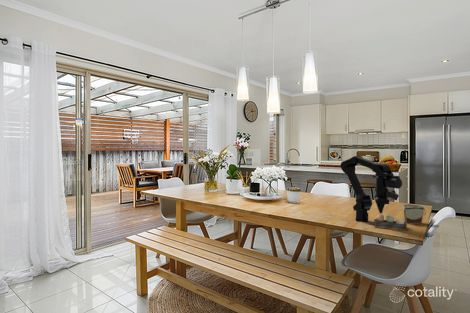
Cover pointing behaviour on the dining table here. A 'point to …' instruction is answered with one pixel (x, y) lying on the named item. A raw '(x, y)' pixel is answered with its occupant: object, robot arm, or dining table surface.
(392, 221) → the button sage
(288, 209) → the dining table surface
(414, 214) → the food container
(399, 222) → the button cream
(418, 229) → the dining table surface
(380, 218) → the button terracotta
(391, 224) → the button panel
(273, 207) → the dining table surface
